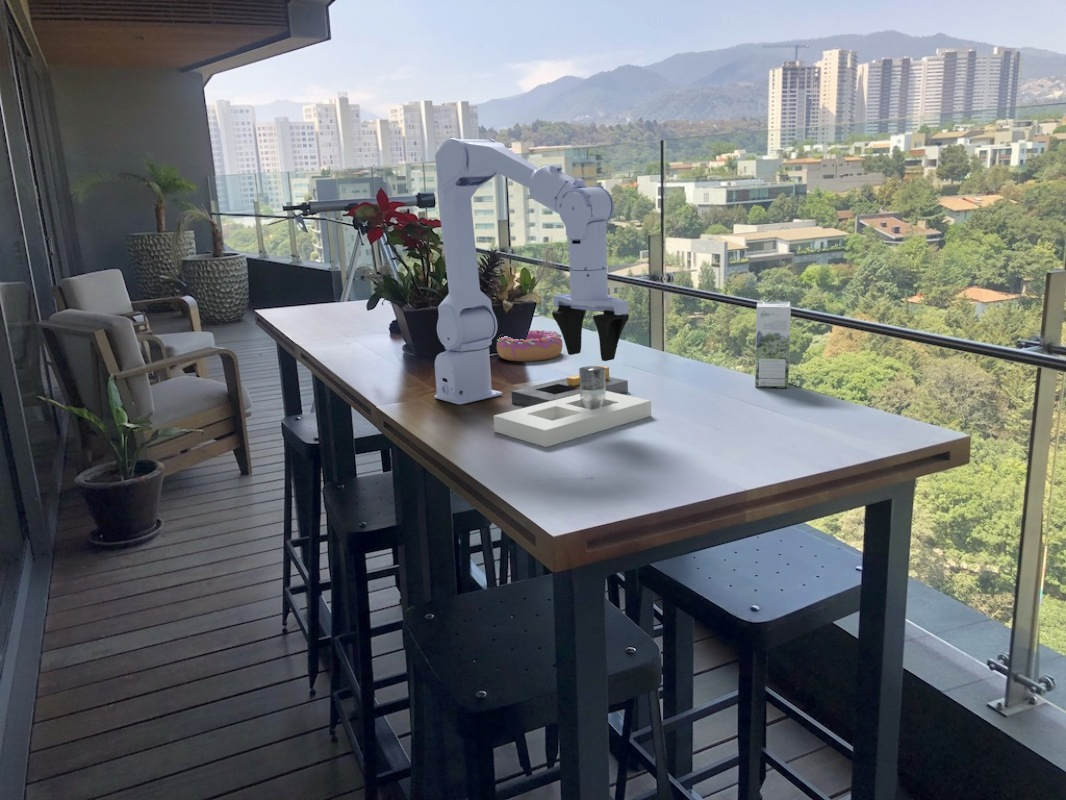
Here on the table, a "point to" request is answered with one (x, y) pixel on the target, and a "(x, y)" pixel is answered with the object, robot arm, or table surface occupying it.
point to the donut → (530, 346)
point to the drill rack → (569, 418)
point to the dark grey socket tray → (559, 391)
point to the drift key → (576, 379)
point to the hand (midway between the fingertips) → (590, 356)
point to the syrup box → (772, 344)
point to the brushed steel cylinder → (592, 387)
